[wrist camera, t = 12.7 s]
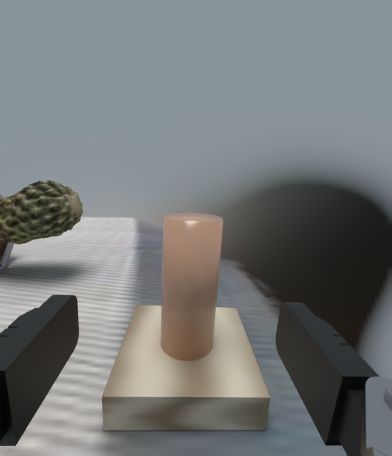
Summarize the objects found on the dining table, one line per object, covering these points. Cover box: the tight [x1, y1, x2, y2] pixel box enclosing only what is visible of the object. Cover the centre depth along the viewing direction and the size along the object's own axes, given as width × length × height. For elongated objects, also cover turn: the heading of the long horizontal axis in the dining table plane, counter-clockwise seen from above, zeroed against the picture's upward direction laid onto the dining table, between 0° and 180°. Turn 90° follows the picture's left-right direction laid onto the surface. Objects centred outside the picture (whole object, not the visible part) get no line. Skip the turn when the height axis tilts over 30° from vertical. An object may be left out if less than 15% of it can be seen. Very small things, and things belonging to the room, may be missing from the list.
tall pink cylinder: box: [160, 212, 223, 361], centre depth 22 cm, size 5×5×12 cm
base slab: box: [102, 305, 270, 430], centre depth 23 cm, size 12×12×3 cm
